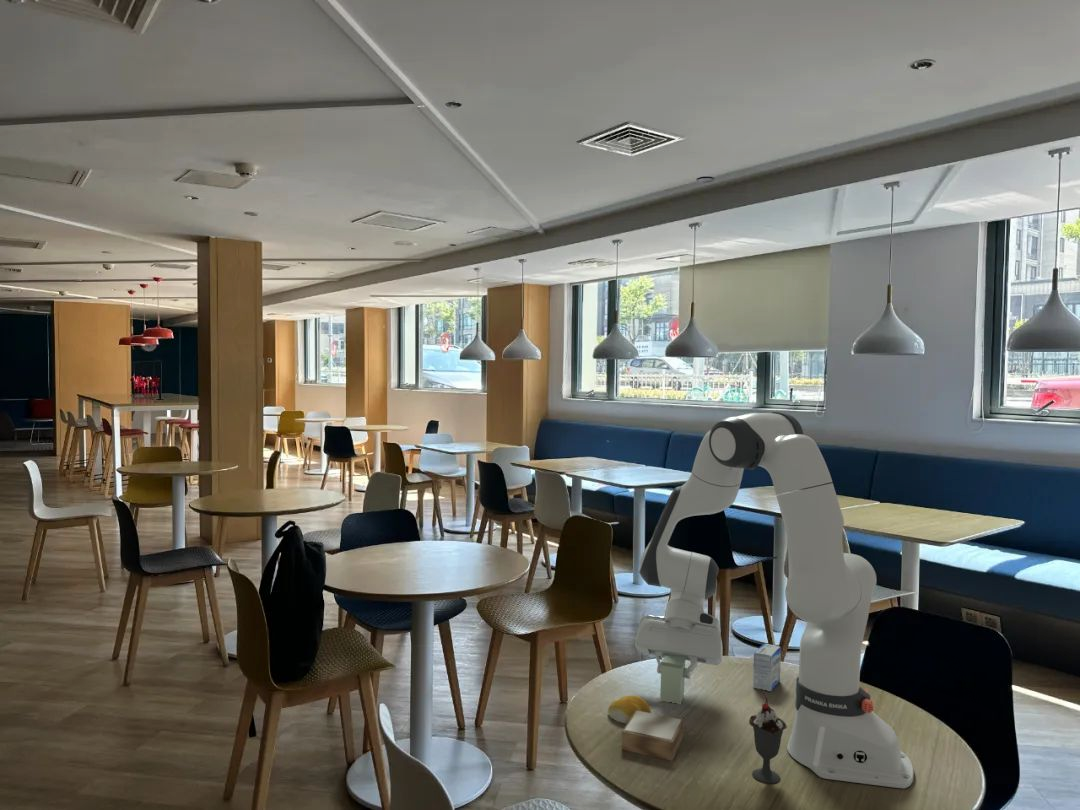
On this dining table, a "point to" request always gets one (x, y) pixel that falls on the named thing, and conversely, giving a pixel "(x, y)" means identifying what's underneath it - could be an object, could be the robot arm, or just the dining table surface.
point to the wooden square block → (652, 735)
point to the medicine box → (766, 667)
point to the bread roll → (627, 708)
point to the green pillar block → (672, 679)
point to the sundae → (767, 741)
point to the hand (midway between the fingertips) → (673, 675)
